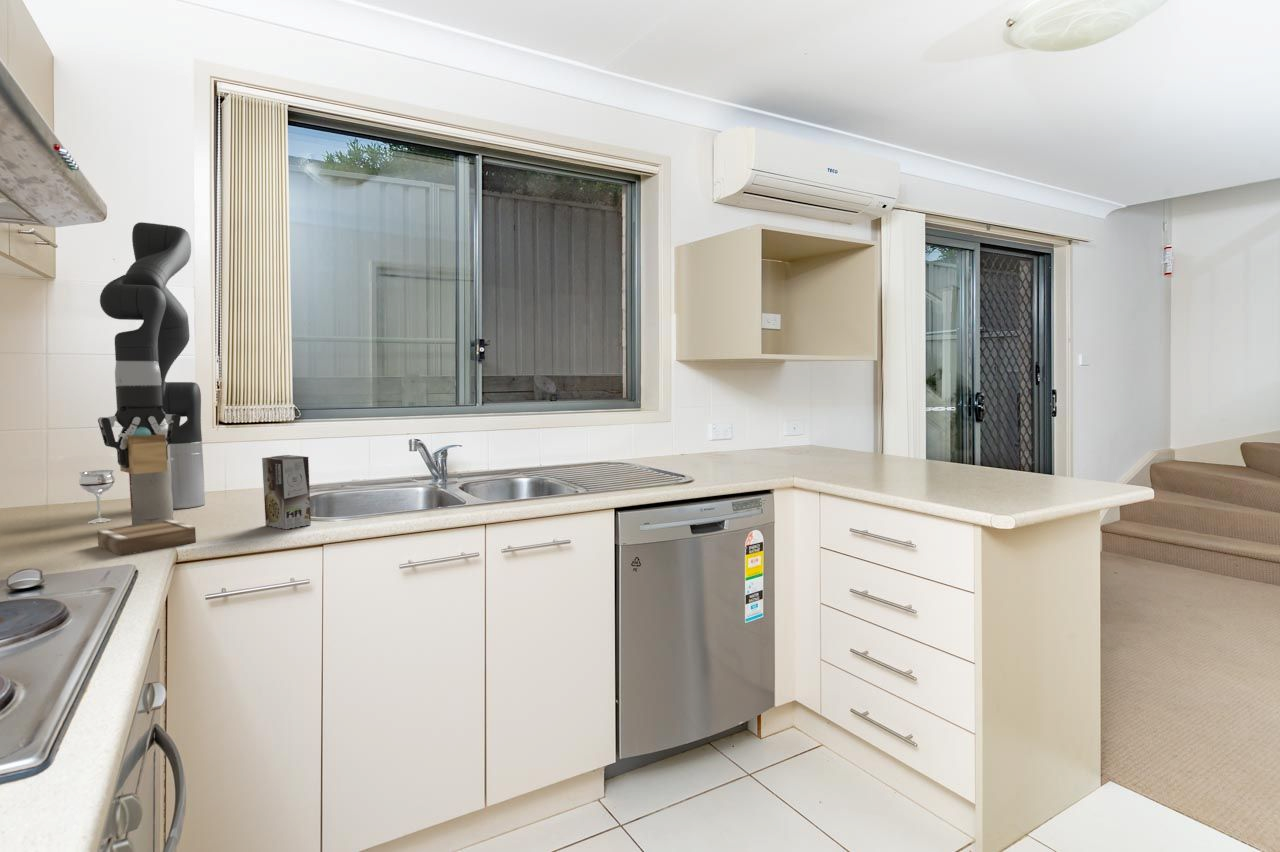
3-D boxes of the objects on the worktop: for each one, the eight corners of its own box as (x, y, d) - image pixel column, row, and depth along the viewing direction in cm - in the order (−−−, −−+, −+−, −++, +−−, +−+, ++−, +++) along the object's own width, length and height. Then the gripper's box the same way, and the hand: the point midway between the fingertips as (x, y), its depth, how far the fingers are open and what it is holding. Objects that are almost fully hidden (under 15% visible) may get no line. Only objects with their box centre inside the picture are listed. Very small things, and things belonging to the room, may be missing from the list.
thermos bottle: (126, 529, 154) (119, 406, 152) (138, 522, 162) (131, 405, 159) (168, 526, 157) (161, 405, 155) (177, 520, 164) (171, 404, 162)
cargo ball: (128, 438, 138) (128, 427, 136) (145, 432, 140) (145, 421, 138) (138, 447, 137) (137, 437, 135) (154, 441, 140) (154, 431, 138)
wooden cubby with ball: (120, 470, 140) (118, 434, 139) (152, 467, 144) (150, 432, 143) (135, 474, 135) (132, 436, 134) (167, 470, 139) (165, 434, 139)
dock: (98, 545, 139) (97, 530, 139) (170, 533, 149) (170, 519, 149) (121, 555, 131) (120, 538, 131) (195, 542, 142) (195, 526, 142)
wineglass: (124, 518, 166) (121, 469, 166) (102, 524, 160) (99, 473, 159) (97, 518, 167) (94, 469, 166) (73, 524, 160) (70, 473, 159)
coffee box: (312, 525, 158) (309, 456, 157) (285, 530, 153) (282, 459, 152) (291, 520, 163) (288, 454, 162) (264, 525, 158) (261, 456, 157)
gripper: (171, 383, 146) (175, 461, 147) (88, 384, 135) (94, 468, 136) (186, 383, 142) (190, 463, 143) (101, 384, 130) (107, 471, 131)
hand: (143, 465), depth 139 cm, fingers closed on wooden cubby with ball, 5 cm apart
